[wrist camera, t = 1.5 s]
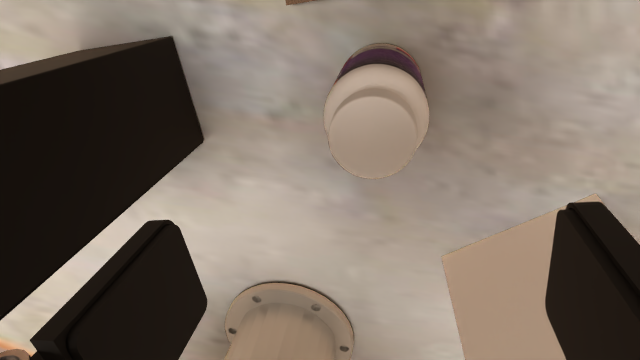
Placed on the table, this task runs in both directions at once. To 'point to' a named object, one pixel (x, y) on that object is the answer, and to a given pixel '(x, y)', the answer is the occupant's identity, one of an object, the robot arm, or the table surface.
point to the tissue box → (83, 150)
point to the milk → (506, 292)
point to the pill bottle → (376, 112)
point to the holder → (296, 1)
